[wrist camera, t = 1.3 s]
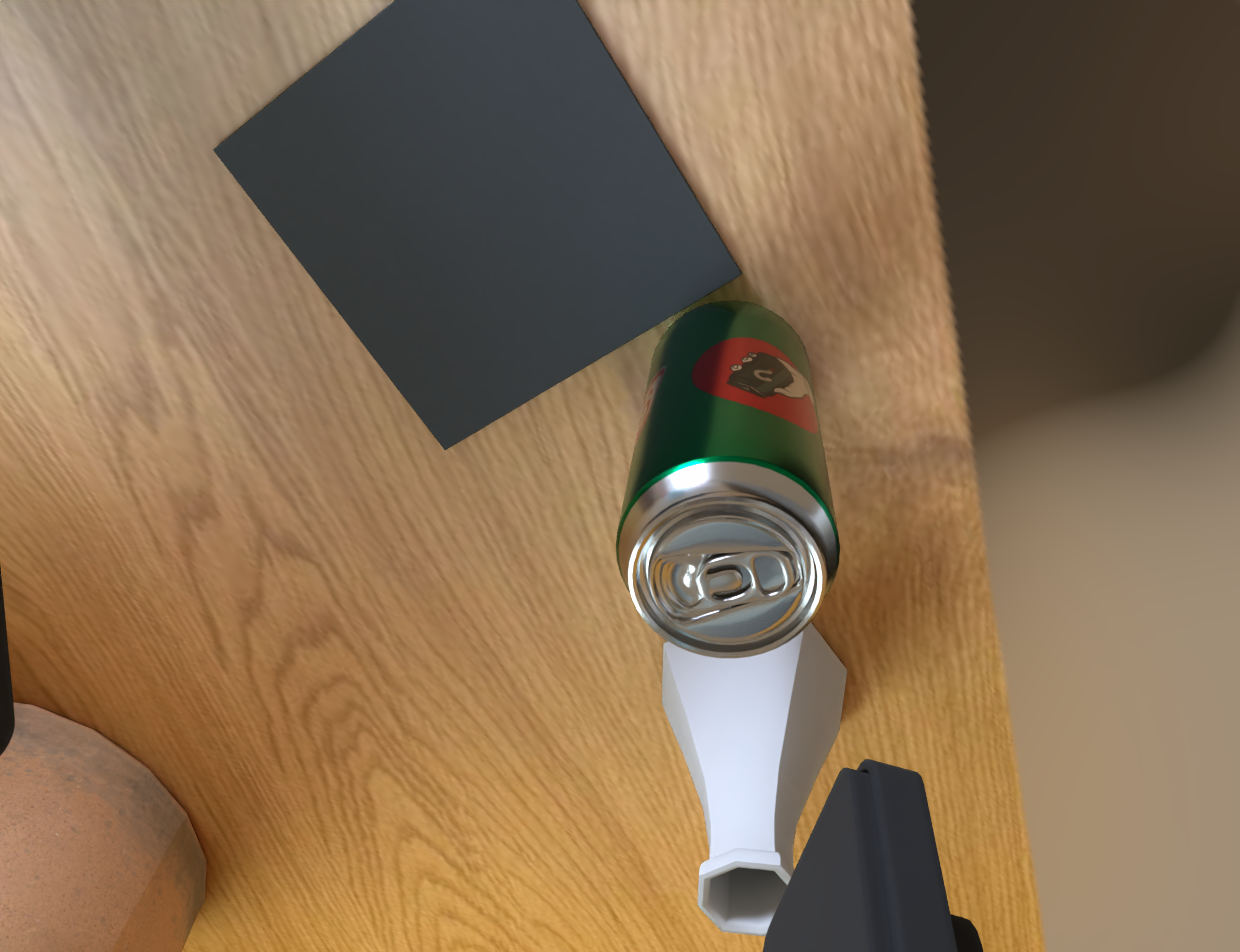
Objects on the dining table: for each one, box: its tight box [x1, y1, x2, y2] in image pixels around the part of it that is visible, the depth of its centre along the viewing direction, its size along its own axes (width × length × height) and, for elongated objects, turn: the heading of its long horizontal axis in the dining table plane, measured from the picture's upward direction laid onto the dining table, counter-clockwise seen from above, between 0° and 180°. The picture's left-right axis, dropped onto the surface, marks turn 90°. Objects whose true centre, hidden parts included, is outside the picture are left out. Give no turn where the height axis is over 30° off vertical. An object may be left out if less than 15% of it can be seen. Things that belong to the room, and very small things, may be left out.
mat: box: [214, 0, 742, 450], centre depth 30 cm, size 12×12×1 cm
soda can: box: [616, 301, 840, 659], centre depth 26 cm, size 5×5×12 cm
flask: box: [662, 622, 847, 936], centre depth 33 cm, size 7×7×10 cm
